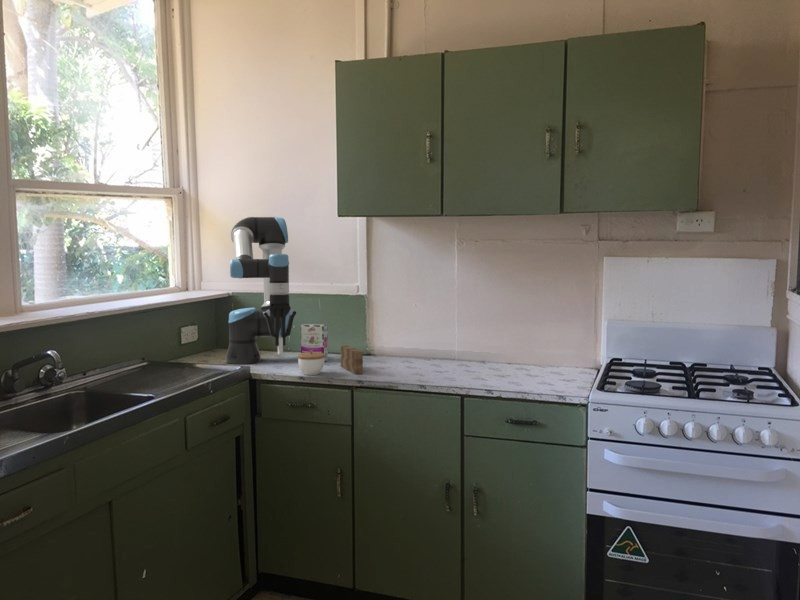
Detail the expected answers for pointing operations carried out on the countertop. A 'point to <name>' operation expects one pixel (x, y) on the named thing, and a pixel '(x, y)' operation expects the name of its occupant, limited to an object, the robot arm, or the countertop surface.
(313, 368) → the lidded jar
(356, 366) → the board
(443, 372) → the countertop surface
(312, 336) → the candy bar box
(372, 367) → the countertop surface
